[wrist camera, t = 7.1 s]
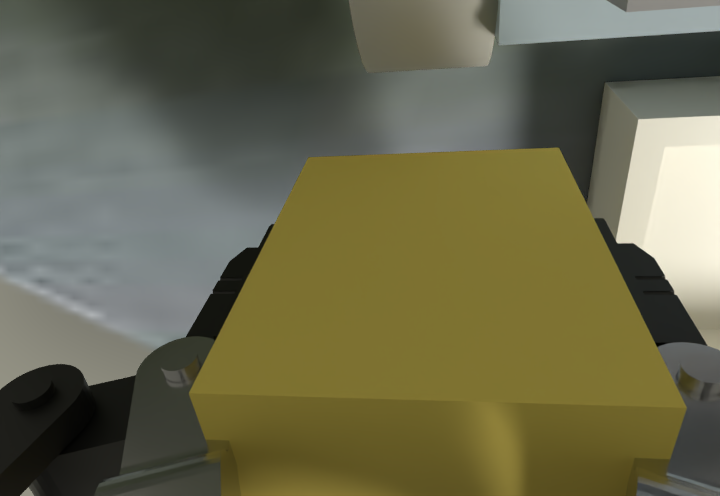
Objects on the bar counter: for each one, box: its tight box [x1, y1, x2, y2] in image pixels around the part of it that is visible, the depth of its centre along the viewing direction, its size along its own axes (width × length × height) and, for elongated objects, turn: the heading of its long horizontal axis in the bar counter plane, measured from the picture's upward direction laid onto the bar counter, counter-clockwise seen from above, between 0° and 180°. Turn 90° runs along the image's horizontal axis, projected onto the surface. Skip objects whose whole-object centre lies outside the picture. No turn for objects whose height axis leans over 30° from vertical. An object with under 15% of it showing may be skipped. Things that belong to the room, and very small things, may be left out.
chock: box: [189, 148, 687, 496], centre depth 10 cm, size 6×5×6 cm
